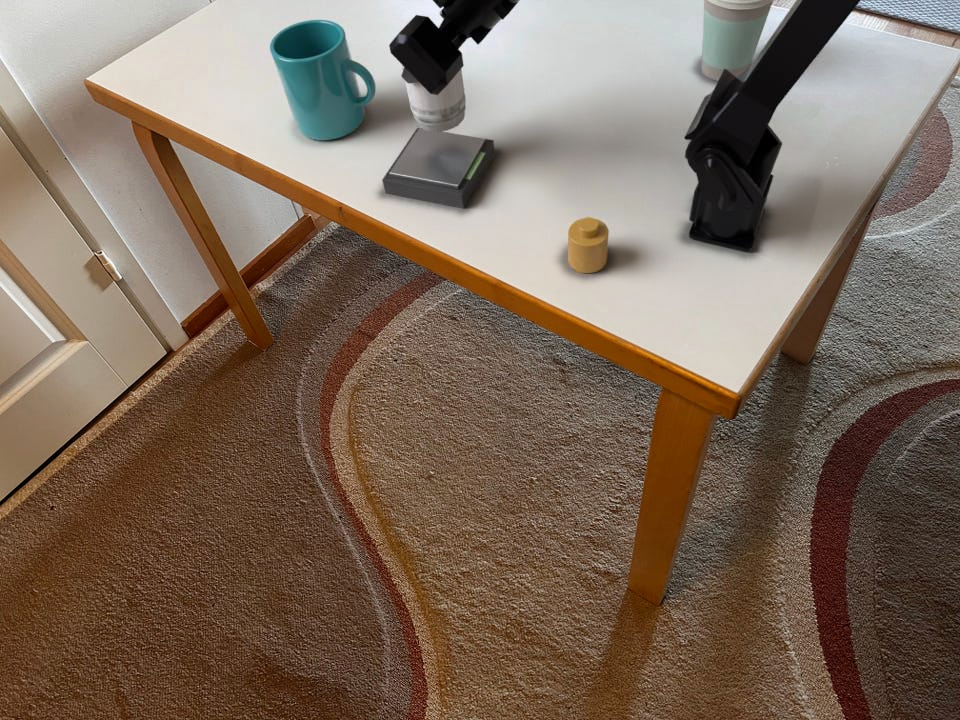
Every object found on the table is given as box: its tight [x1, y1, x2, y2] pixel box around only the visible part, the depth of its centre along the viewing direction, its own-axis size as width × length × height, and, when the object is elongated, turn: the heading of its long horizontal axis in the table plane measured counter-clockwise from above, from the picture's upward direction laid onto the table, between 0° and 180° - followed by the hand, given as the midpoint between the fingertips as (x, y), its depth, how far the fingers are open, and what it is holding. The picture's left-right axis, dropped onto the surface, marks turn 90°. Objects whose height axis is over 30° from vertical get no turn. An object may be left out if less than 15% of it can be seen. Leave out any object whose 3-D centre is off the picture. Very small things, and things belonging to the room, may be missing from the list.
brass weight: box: [567, 216, 610, 274], centre depth 73 cm, size 4×4×5 cm
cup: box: [269, 19, 377, 141], centre depth 88 cm, size 9×12×11 cm
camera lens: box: [401, 64, 467, 132], centre depth 79 cm, size 6×6×8 cm
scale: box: [381, 127, 496, 209], centre depth 84 cm, size 10×10×3 cm
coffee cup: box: [700, 0, 774, 82], centre depth 87 cm, size 8×8×12 cm
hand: (420, 62), depth 77 cm, fingers closed on camera lens, 6 cm apart
